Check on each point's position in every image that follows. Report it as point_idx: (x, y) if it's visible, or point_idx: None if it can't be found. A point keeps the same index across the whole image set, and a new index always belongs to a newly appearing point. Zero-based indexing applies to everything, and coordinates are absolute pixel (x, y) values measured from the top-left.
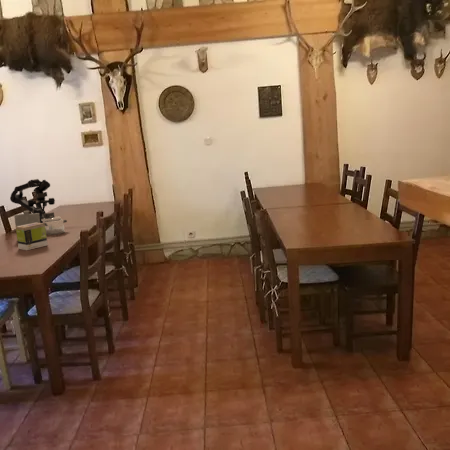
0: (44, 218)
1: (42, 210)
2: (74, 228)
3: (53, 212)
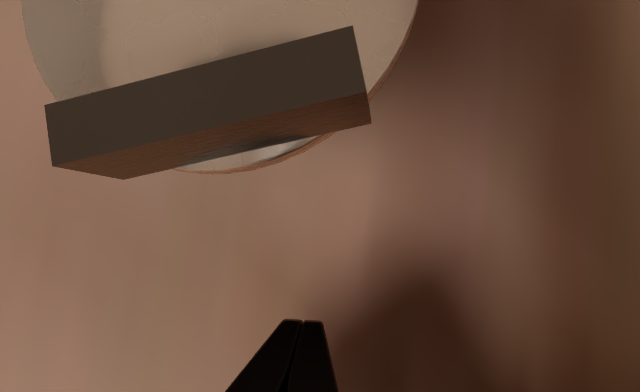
0: (346, 9)
1: (309, 355)
2: (21, 141)
3: (50, 134)
